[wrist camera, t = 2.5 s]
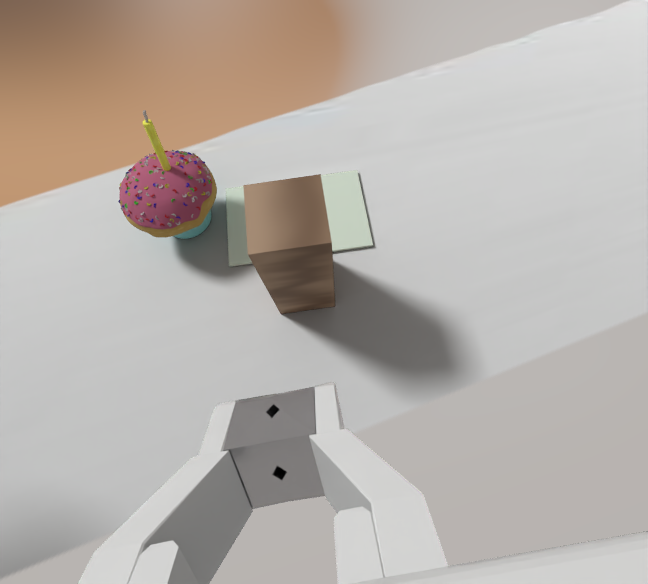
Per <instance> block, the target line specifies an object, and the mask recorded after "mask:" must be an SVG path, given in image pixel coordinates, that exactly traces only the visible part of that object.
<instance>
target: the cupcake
mask: <svg viewBox="0 0 648 584" xmlns="http://www.w3.org/2000/svg"><path fill="white" fill-rule="evenodd" d="M143 115H144V117H145V120H144V121H143V125H144V128H145V130H146V132H147V134H148V136H149V139H150V141H151V143H152V145H153V147H154V150H155V153H154V154H149V156H145V157H144V158H143V159H141V160H140V161H139V162H137V163H136V164H135V165H134V166H133V167H132V169H129V170H130V171H129V170H128V171H129V172H126V174H127V175H126V176H125V178H124V179H123V181H122V183H121V184H120V187H119V190H120V200H119V203H120V205H121V209H122V211H123V213H124V215H125V217H126V218H127V220H128V221H129V222H130V223H131V224H132V225H133V226H135V227H136V228H138V229H140V230H142V231H144V232H147V233H149V234H151V235H152V236H154V237H170V236H175V237H177V238H182V239H187V238H192V237H195V236H197V235H199V234H201V233H202V232H203V231H204V230H205V229H206V228H207V227H208V225H209V223H210V221H211V207H212V205H213V203H214V201H215V198H216V194H217V187H216V183H215V180H214V178H213V175H212V173H211V172H210V170H209V169H208V167H207V166H206V165H205V162H203V161H202V160H201V159H200V158H199V157H198V156H196V155H195V154H194V153H193V154H191V153H189V152H188V153H187V152H185V151H181V152H180V151H178V150H177V151H174V150H172V151H164V149H163V147H162V145H161V142H160V140H159V138H158V135H157V133H156V131H155V128H154V126H153V124H152V121H151V120H149V119H148V117H147V115H146V111H145V110H144V111H143Z"/></svg>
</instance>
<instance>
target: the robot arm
mask: <svg viewBox="0 0 648 584" xmlns="http://www.w3.org/2000/svg"><path fill="white" fill-rule="evenodd" d="M320 496H325V497H326V498H327V500H328V501H329V503H330V504H331V506H332V507H333V509H334V510H335V511H336V512H337V515H336V516H335V518H334V533H335V547H336V562H337V578H338V584H648V531H646V532H639V533H633V534H628V535H622V536H617V537H611V538H606V539H600V540H594V541H588V542H583V543H577V544H571V545H566V546H560V547H554V548H548V549H543V550H537V551H531V552H526V553H520V554H514V555H509V556H503V557H497V558H492V559H486V560H480V561H475V562H469V563H463V564H458V565H452V566H448V564H447V561H446V559H445V556H444V553H443V550H442V547H441V544H440V541H439V538H438V535H437V533H436V530H435V527H434V524H433V521H432V518H431V515H430V512H429V510H428V507H427V504H426V501H425V498H424V495H423V494H422V493H421V492H420V491H419V490H418V489H417V488H416V487H414V486H413V485H412V484H411V483H410V482H409V481H407V480H406V479H405V478H404V477H403V476H402V475H401V474H399V473H398V472H397V471H396V470H395V469H394V468H392V467H391V466H390V465H389V464H388V463H387V462H386V461H384V460H383V459H382V458H381V457H380V456H379V455H377V454H376V453H375V452H374V451H373V450H372V449H370V448H369V447H368V446H367V445H366V444H365V443H364V442H362V441H361V440H360V439H359V438H358V437H357V436H356V435H354V434H353V433H352V432H351V431H350V430H349V429H344V423H343V418H342V414H341V409H340V404H339V399H338V394H337V389H336V385H335V383H334V382H330V383H326V384H321V385H316V386H315V387H310V388H305V389H300V390H294V391H289V392H284V393H279V394H271V395H265V396H259V397H253V398H247V399H241V400H238V401H230V402H224V403H219V404H218V405H216V406H215V408H214V411H213V414H212V417H211V419H210V422H209V425H208V428H207V431H206V434H205V437H204V440H203V443H202V446H201V449H200V451H199V454H198V456H195V457H191V458H190V459H189V460H188V461H187V462H186V463H185V464H184V465H183V466H182V467H181V468H180V469H179V470H178V471H177V472H176V473H175V474H174V475H173V476H172V477H171V478H170V479H169V480H168V481H167V482H166V483H165V484H164V485H163V486H162V487H161V488H160V489H159V490H158V491H157V492H155V493H154V494H153V495H152V496H151V497H150V498H149V499H148V500H147V501H146V502H145V503H144V504H143V505H142V506H141V507H140V508H139V509H138V510H137V511H136V512H135V513H134V514H133V515H132V516H131V517H130V518H129V519H128V520H127V521H126V522H125V523H124V524H123V525H122V526H121V527H119V528H118V529H117V530H116V531H115V532H114V533H113V534H112V535H111V536H110V537H109V538H108V539H107V540H106V541H105V542H104V543H103V544H102V545H101V546H100V547H99V548H98V549H97V550H96V551H95V552H94V553H93V555H92V557H91V559H90V561H89V563H88V565H87V567H86V569H85V571H84V572H83V574H82V576H81V578H80V580H79V582H78V584H209V583H210V581H211V579H212V578H213V576H214V575H215V573H216V571H217V570H218V568H219V566H220V565H221V563H222V561H223V560H224V558H225V556H226V555H227V553H228V551H229V550H230V548H231V547H232V545H233V543H234V542H235V540H236V538H237V536H238V535H239V533H240V532H241V530H242V528H243V527H244V525H245V523H246V522H247V520H248V518H249V517H250V515H251V513H252V509H255V508H259V507H264V506H269V505H273V504H278V503H283V502H288V501H294V500H301V499H307V498H314V497H320Z"/></svg>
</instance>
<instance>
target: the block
mask: <svg viewBox="0 0 648 584" xmlns="http://www.w3.org/2000/svg"><path fill="white" fill-rule="evenodd" d="M243 188H244V203H245V219H246V234H247V250H248V256H249V258H250V259H251V261H252V263H253V265H254V267H255V268H256V270H257V272H258V274H259V276H260V277H261V279H262V281H263V283H264V285H265V286H266V288H267V290H268V292H269V294H270V295H271V297H272V299H273V301H274V302H275V304H276V306H277V308H278V310H279V311H280V313H281V314H286V313H292V312H299V311H306V310H313V309H320V308H327V307H334V306H335V293H334V275H333V256H332V241H331V235H330V229H329V222H328V216H327V210H326V204H325V198H324V192H323V186H322V180H321V174H320V175H313V176H306V177H299V178H292V179H285V180H278V181H271V182H264V183H257V184H250V185H243Z"/></svg>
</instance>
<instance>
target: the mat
mask: <svg viewBox="0 0 648 584" xmlns="http://www.w3.org/2000/svg"><path fill="white" fill-rule="evenodd" d="M321 180H322V186H323V192H324V198H325V204H326V210H327V216H328V222H329V229H330V235H331V241H332V252H337V251H344V250H351V249H358V248H365V247H371V246H373V242H372V238H371V233H370V228H369V224H368V219H367V214H366V209H365V205H364V200H363V195H362V190H361V186H360V181H359V176H358V172H357V170H354V171H347V172H340V173H333V174H326V175H321ZM226 210H227V234H228V258H229V267H232V266H239V265H246V264H253V263H252V261H251V259H250V258H249V256H248V250H247V234H246V219H245V203H244V188H243V186H242V187H235V188H228V189H226Z"/></svg>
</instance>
